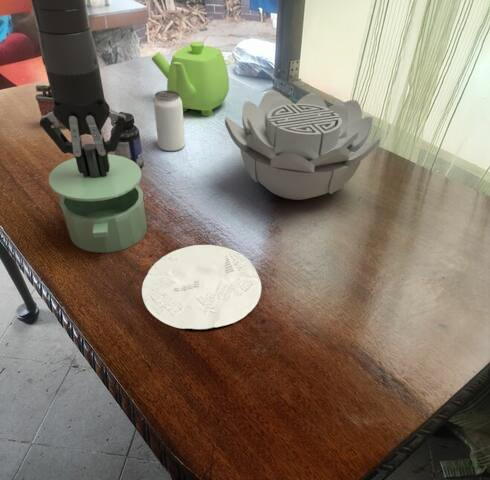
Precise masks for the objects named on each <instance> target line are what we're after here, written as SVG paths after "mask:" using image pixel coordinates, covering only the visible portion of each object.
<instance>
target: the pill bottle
mask: <svg viewBox="0 0 490 480" xmlns="http://www.w3.org/2000/svg"><path fill="white" fill-rule="evenodd" d="M124 113H125V115H126V122H125V126H124V129H123V131H122V134H121V137H120V140H119V143H118V145H117V148H116V151H114V152H113V153H114V155H118V156H122V157H125V158H128V159H130V160H132V161H133V162H135V163H136V164H137V165H138V166H139V167H140V169H142V167H144V164H145V162H144V155H143V148H142V142H141V135H140V130H139V128H138V127H137V125H135V118H134V117H135V116H134V114H132V113H129V112H124ZM113 128H114V127H113V126H112V129H110V135H111V134H112V131H113Z"/></svg>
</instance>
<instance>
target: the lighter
mask: <svg viewBox="0 0 490 480" xmlns="http://www.w3.org/2000/svg"><path fill="white" fill-rule="evenodd" d="M35 91H36V92H37V93H38V94H35V96H34V97H35V101H37V102H36V103H37V105H38V108H39V109H38V110H39V112H40V116H41V117H42V115H43V114H48V113H50V112H52V111H53V107H54V100H53V96H52V92H51V89H50V85H46V84H36V85H35ZM56 120H57V122H58V125H57V126H58V128H59V129H60V130H68V129H67V128H66V127H65V126H64V125H63V124H62V123H61V122H60V121H59V120H58V119H57V118H56Z"/></svg>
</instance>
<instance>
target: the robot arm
mask: <svg viewBox="0 0 490 480" xmlns="http://www.w3.org/2000/svg"><path fill="white" fill-rule="evenodd" d="M29 2H30V5H31V9H32V13H33V17H34V18H33V19H34V21H35V25H36V29H37V35H38V41H39V49H40V53H41V60H42V63H43V66H44V68H45V72H46V77H47V79H48V84H49V85H50V89H51V92H52V96H53V100H54V107H53V111H52V112H50V113H48V114H43V115H42V116H41V117H40V119H39V125H40V127H41V128H42V129H43V131H44V132H45V133H46V134H47V136H48V137H49V138H50V139H51V140H52V141H53V144H55V145H56V146H57V148H58V149H59V150H60V151H61V152H62V153H63V154H72V156H74V158H76V162H77V166H78V171H79V172H80V173H83V176H84V177H87V176H88V171H87V167H86V162H85V158H84V153H83V149H82V147H83V141H82V136H83V135H89V136H91V137H92V140H93V144H95V145H96V148H97V151H98V159H99V164H100V169H101V174H102V176H106V173H107V172H109V167H110V165H109V159H108V154H110V152H112V153H115V152H114V151H116V148H117V145H118V143H119V140H120V137H121V134H122V131H123V129H124V126H125V122H126V115H125V113H126V112H124V111H119V112H117V111H115V110H112V109H111V108H110V106H109V103H108V102H107V101H106V98H105V93H104V88H103V82H102V76H101V70H100V64H99V59H98V54H97V53H98V52H97V48H96V43H95V39H94V36H93V33H92V29H91V23H90V18H89V13H88V7H87V1H86V0H30V1H29ZM49 85H48V86H49ZM56 118H57V119H58V120H59V121H60V122H61V123H62V124H63V125H64V126H65V127H66V128H67V129H66V130H68V131H69V133H70V140H69V139H68V137H67V136H66V135H65V134H64V133H63V131H62V129H59V128H58V126H57V125H58V122H57V120H56ZM108 119H110V125H111V126H112V128H113V127H114V128H113V131H112V134H111V133H110V137H109V139H108V140H107V141H106V140H105V137H104V132H103V127H104V126H105V124H106V122H107V120H108Z"/></svg>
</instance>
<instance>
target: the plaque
mask: <svg viewBox="0 0 490 480" xmlns="http://www.w3.org/2000/svg"><path fill="white" fill-rule="evenodd" d="M261 294H262V281H261V278H260V276H259V274H258V271H257V270H256V268H255V265H254V264H253V263H252V261H250V259H248V258H247V257H246V256H245V255H244V254H242V253H240V252H238V251H236V250H234V249H232V248H228V247H224V246H221V245H214V244H196V245H195V244H194V245H190V246H185V247H182V248H178V249H175V250H173V251H172V252H171V251H170V252H169V253H167V254H165V255H164V256H162V257H161V258H159V260H157V261H156V262H155V263H154V264H153V265H152V266H151V267H150V269H149V270H148V272H147V275H145V277H144V280H143V282H142V285H141V297H142V300H143V303H144V306H145V307H146V309H147V311H149V313H150V314H151V315H152V316H153V317H154V318H156V319H157V320H159V322H162V323H163V324H166V325H168V326H171V327H173V328H177V329H182V330H185V329H186V330H187V329H189V330H190V329H192V330H208V329H213V328H219V327H224V326H228V325H231V324H235V323H236V322H238V321H240V320H242V319H244V318H245V317H247V315H248V314H250V313H251V312H252V311H253V310H254V308H256V306H257V305H258V303H259V301H260V298H261Z"/></svg>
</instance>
